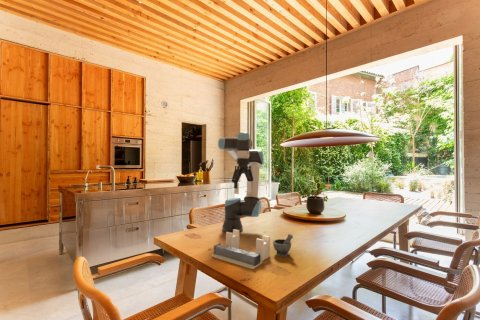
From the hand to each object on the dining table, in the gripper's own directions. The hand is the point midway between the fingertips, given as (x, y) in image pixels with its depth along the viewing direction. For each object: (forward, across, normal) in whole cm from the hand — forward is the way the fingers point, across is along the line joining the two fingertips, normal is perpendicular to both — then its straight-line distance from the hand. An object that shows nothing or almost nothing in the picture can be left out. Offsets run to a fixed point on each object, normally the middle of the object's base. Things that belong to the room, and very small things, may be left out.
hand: (242, 192), depth 148 cm
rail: (+31, -20, -10) cm, 38 cm away
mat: (+32, -20, -10) cm, 39 cm away
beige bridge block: (+32, -10, 0) cm, 33 cm away
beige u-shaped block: (+32, -10, -20) cm, 39 cm away
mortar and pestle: (+32, 0, -27) cm, 42 cm away
